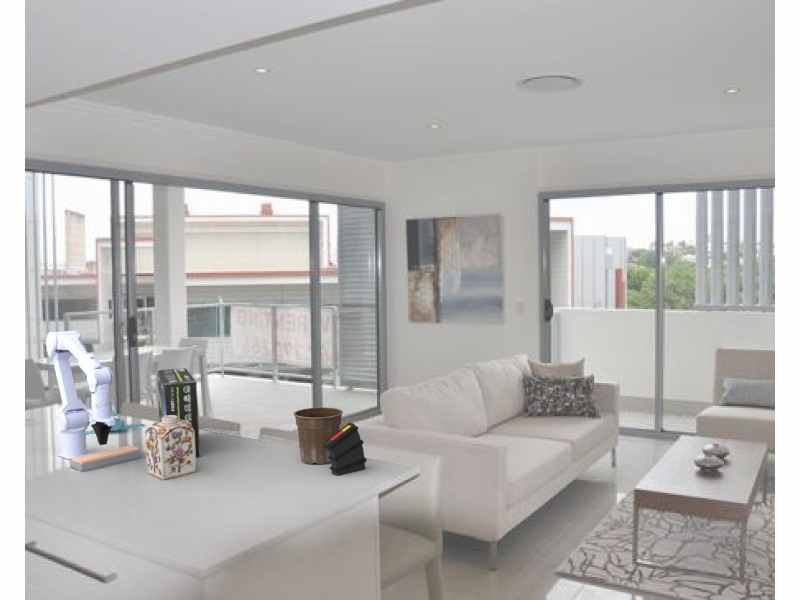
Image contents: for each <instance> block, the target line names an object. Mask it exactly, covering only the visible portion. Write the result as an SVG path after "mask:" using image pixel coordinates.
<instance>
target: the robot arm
mask: <svg viewBox="0 0 800 600" xmlns="http://www.w3.org/2000/svg"><path fill="white" fill-rule="evenodd" d="M45 346H46V350H47V351H46V352H47V353H48V357H49V358H51V359H52V363H53V367H54V371H55V374H56V380H57V384H58V389H59V394H60V398H61V403H62V405H61V406H60V407H59V408H58V409H57V410H56V412H55V416H56V422H55V423H56V426H57V429H58V430H59V431H60V432H61V433H60V434H59V453H57V454H56V455H57V456H59V457H61V458H64V459H67V460H72V459H71V458H75V457H80V456H84V455H89V454H92V453H91V452H89V451H88V450H87V436H86V433H87V432H86V431H87V430H88V427H89V426H90V427H91V428H92V429H93V430H94V431H95V434H96V435H95V437H96V438H97V443H98V445H99V446H103V445H107V444H108V441H109V435H110V433H111V432H110V430H111V428H112V426H113V425H115V419H113V418H112V416H111V411H112V410H111V390H110V389H111V388H110V386H111V384H112V382H113V380H114V379H113V378H114V375H113V371H112V370H111V368H110V367H109V366H105V365H102V364H101V362H99V360H98V359H97V357H95V355H94V354H91V353H88V352H87V350H86V349H85V347H84V345H83V344H82V335H81V334H80V333H79V331H78V330H77V329H73V330H66V331H65V330H64V331H63V330H62V331H50V332H49V333H48V334H47V336H46V339H45ZM71 356H74V357H75V358H76V359H77V360H78V367H79V368H80V369H81V370H82V372H83V373H84V374H85V375H86V376H87V377H86V381H87V384H88V390H89V392H90V395H91V412H92V413H91V414H90V411H89V410H88V408H87V405H86V404H84V403H83V402H80V401H79V399H78V393H77V389H76V385H75V380H74V376H73V371H72V368H71V367H72V366H71V361H70V357H71ZM91 422H95V423H92V424H91ZM90 424H91V425H90Z"/></svg>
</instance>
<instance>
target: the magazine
mask: <svg viewBox="0 0 800 600" xmlns="http://www.w3.org/2000/svg"><path fill="white" fill-rule="evenodd" d="M324 443H325V445H324V448H327V450H328V452H329V455H330V456H328V458H329V459H331V463H330V465H331V466H329V470H331V475H333V476H342V475H346V474H350V473H355V472H359V471H364V470H366V463H367V458H366V457H365V451H364V446H363V444H364V440H363V439H361V436H360V433H359V427H358V426H356V424H355V423H353V422H348V423H346V424H345V425H344V426H342V428H341V427H340V430H339V431H337V432H336V433H335V434H333V435H332V436H331V437H329V438H328V439H327V440H325V441H324Z"/></svg>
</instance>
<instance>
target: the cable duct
mask: <svg viewBox="0 0 800 600" xmlns="http://www.w3.org/2000/svg"><path fill="white" fill-rule="evenodd" d="M140 458H141V452H140V451H136V452H132V453H127V454H123V455H119V456H114V457H110V458H105V459H101V460H97V461H92V462H88V463H84V464H80V463H77V462H74V461H72V459H69V467H70V469H73V470H75V471H79V472H81V473H83V472H89V471H91V470H95V469H96V470H97V469H100V468H104V466H105V467H108V466H109V467H110V466H113V465H117V464H120V463H124V462H130V461H134V460H137V459H140Z"/></svg>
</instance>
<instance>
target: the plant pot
mask: <svg viewBox="0 0 800 600" xmlns="http://www.w3.org/2000/svg"><path fill="white" fill-rule="evenodd" d="M343 414H344V411H343V410H342V409H340V408H337V407H321V406H320V407H308V408H307V407H306V408H301V409H298V410H296V411H294V412H293V415H294V418H295V424H296V425H295V426H296V427H297V434H298V443H299V453H300V461H301V462H302V463H304V464H308V465H314V464H317V465H328V464H331V459H329V458H328V456H330V455H329V452H328V450H327V448H324V445H325V443H324V441H325V440H327V439H328V438H329V437H331V436H332V435H333V434H335V433H336V432H337V431H339V430H340V429H341V424H342V416H343Z"/></svg>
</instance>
